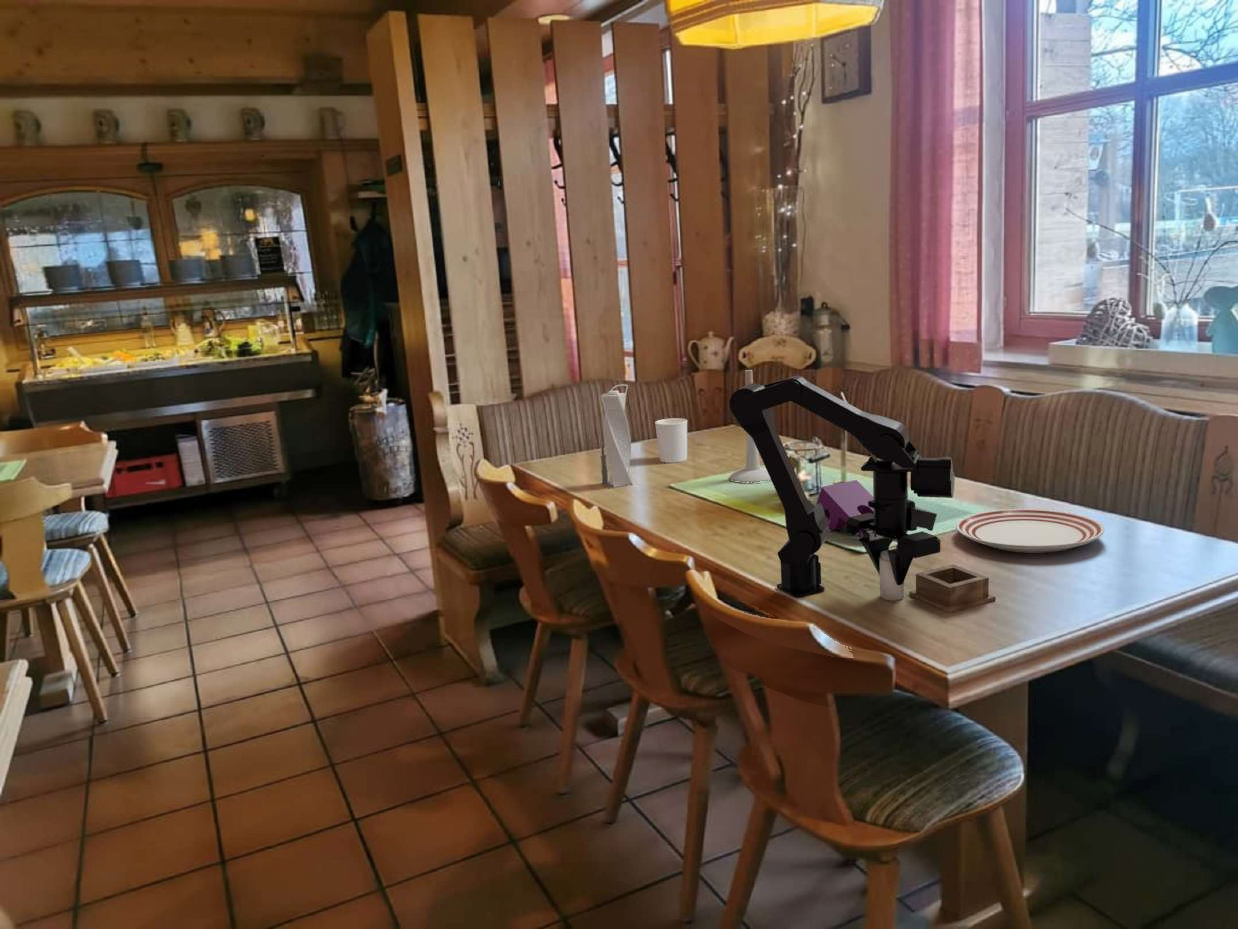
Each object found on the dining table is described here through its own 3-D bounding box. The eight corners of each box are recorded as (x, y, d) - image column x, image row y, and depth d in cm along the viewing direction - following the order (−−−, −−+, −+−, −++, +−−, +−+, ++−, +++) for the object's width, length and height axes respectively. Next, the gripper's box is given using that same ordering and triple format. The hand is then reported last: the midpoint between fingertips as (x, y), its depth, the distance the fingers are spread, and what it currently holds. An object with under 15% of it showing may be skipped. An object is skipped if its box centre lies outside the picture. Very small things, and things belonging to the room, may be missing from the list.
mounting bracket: (895, 560, 202) (847, 509, 214) (906, 530, 197) (856, 479, 209) (859, 569, 198) (812, 516, 211) (869, 539, 193) (821, 486, 206)
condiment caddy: (949, 612, 157) (949, 590, 156) (909, 594, 166) (909, 573, 165) (995, 600, 161) (995, 578, 160) (953, 583, 170) (953, 562, 169)
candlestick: (787, 476, 255) (783, 366, 248) (751, 486, 248) (746, 373, 242) (755, 470, 265) (750, 364, 259) (720, 478, 259) (714, 370, 252)
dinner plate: (927, 536, 198) (927, 520, 197) (1025, 513, 208) (1025, 498, 207) (1030, 572, 173) (1030, 555, 172) (1136, 544, 183) (1137, 527, 182)
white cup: (690, 462, 281) (688, 422, 278) (657, 464, 281) (655, 425, 279) (688, 455, 291) (686, 417, 288) (657, 457, 291) (654, 419, 288)
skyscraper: (629, 480, 266) (622, 382, 260) (639, 486, 259) (631, 385, 253) (601, 484, 264) (593, 385, 258) (610, 490, 256) (602, 388, 250)
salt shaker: (890, 602, 163) (889, 558, 162) (875, 595, 167) (874, 552, 165) (908, 597, 165) (908, 554, 163) (893, 590, 168) (893, 548, 167)
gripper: (966, 498, 156) (966, 587, 160) (893, 477, 173) (894, 558, 177) (912, 510, 152) (913, 601, 156) (842, 487, 169) (844, 570, 173)
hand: (891, 581), depth 165 cm, fingers closed on salt shaker, 4 cm apart
